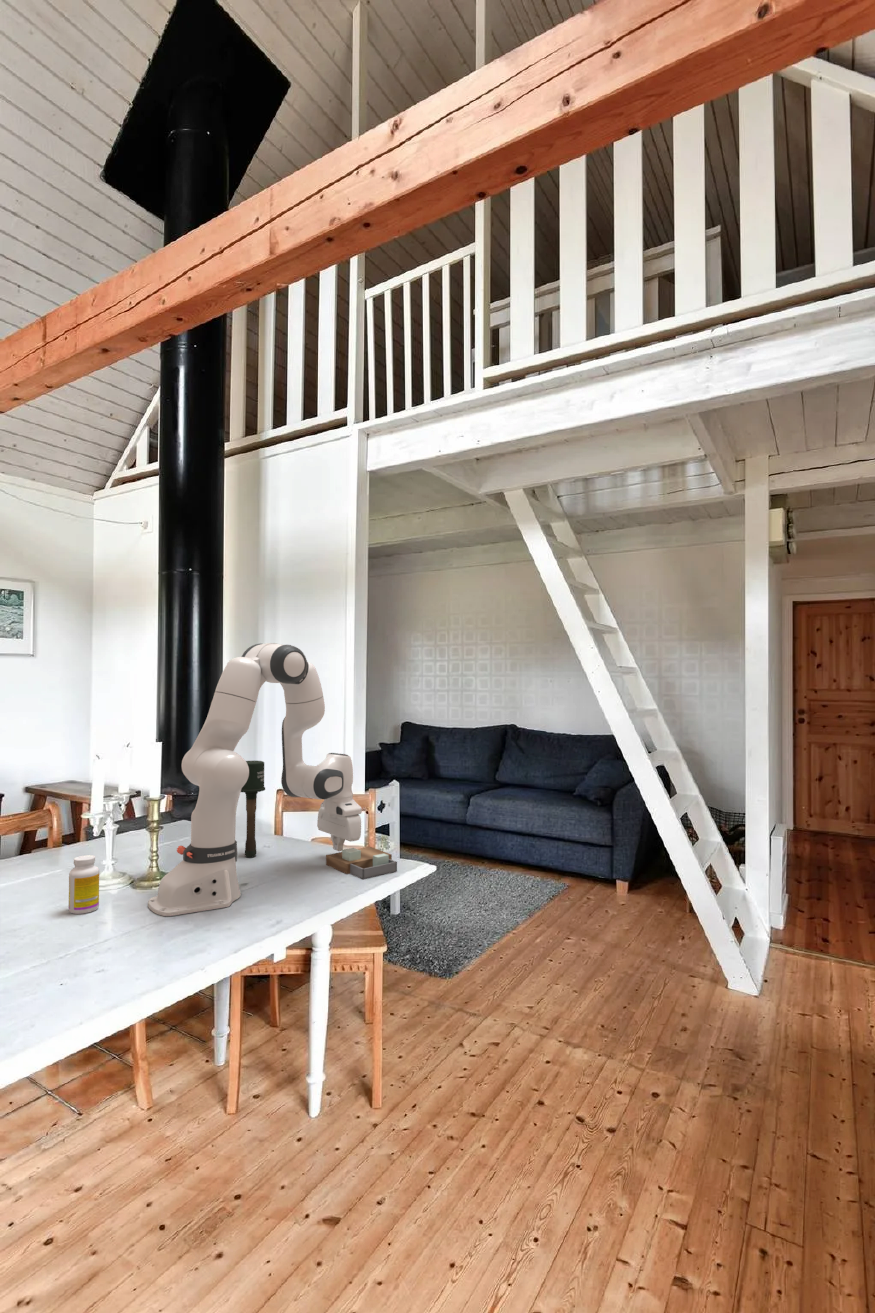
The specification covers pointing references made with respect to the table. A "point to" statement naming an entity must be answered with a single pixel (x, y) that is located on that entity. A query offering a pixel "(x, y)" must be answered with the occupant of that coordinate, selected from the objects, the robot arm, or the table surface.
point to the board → (364, 862)
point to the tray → (373, 870)
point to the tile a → (351, 854)
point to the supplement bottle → (84, 885)
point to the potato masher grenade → (252, 802)
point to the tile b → (380, 859)
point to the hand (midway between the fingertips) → (337, 850)
